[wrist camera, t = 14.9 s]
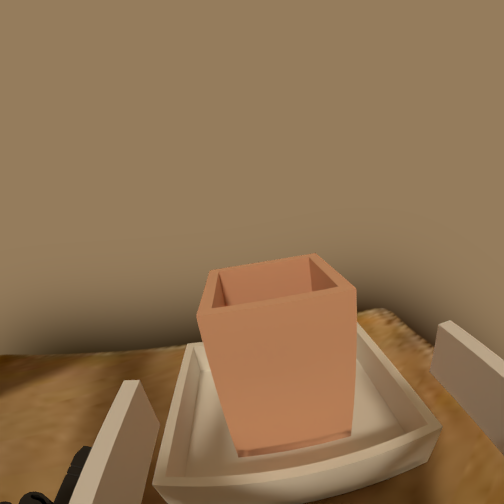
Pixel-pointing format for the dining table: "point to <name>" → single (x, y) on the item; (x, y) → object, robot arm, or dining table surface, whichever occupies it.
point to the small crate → (281, 352)
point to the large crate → (299, 460)
